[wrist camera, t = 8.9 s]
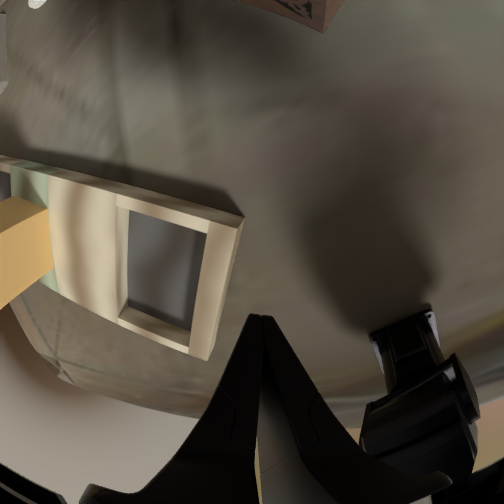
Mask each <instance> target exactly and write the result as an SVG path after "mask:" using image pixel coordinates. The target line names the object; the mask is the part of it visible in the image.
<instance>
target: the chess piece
mask: <svg viewBox="0 0 504 504" xmlns="http://www.w3.org/2000/svg"><path fill="white" fill-rule="evenodd" d="M46 1H47V0H29V2H28V4H29V7H30V8H33V9H37V8H39V7H40V6H42V5H43V4H44V3H45V2H46Z"/></svg>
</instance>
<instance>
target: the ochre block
mask: <svg viewBox="0 0 504 504" xmlns="http://www.w3.org/2000/svg"><path fill="white" fill-rule="evenodd" d="M53 268H54V266H53V258H52V251H51V242H50V231H49V218H48V208H45V207H42V206H40V205H37V204H35V203H32V202H30V201H27V200H25V199H22V198H19V197H17V196H12V197H10V198H8V199H5V200H3V201H1V202H0V309H1V308H3V307H4V306H5V305H6V304H8V303H9V302H10V301H11V300H12V299H14V298H15V297H16V296H17V295H19V294H20V293H21V292H22V291H24V290H25V289H26V288H28V287H29V286H30V285H31V284H33V283H34V282H35V281H37V280H38V279H39V278H41V277H42V276H43V275H45V274H46V273H47V272H49V271H50V270H52V269H53Z"/></svg>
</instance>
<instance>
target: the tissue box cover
mask: <svg viewBox="0 0 504 504" xmlns="http://www.w3.org/2000/svg"><path fill="white" fill-rule="evenodd" d="M236 1H239V2H243V3H246V4H249V5H253V6H256V7H259V8H262V9H265V10H268V11H270V12H273V13H276V14H279V15H281V16H284V17H287V18H289V19H292V20H294V21H296V22H299V23H301V24H304V25H306V26H308V27H310V28H313V29H315V30H317V31H319V32H321V33H324V31H325V30H326V28H327V26H328V25H329V23H330V22H331V20H332V18H333V17H334V15H335V14H336V12H337V11H338V9H339V7H340V6H341V4H342V3H343V1H344V0H236Z"/></svg>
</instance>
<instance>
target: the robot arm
mask: <svg viewBox="0 0 504 504" xmlns="http://www.w3.org/2000/svg"><path fill="white" fill-rule="evenodd" d="M428 314H430V315H428ZM427 315H428V316H427ZM369 337H370V342H371V344H372V346H373V349H374V351H375V354H376V356H377V359H378V361H379V364H380V366H381V369H382V371H383V374H384V375H385V381H386V387H387V394H388V395H386V396H384V397H382V398H380V399H378V400H376V401H374V402H370V403H368V404H367V405H366V410H365V415H364V419H363V424H362V428H361V433H360V438H359V445H358V444H357V443H356V442H355V440H354V439H353V438H352V437H351V436H350V434H349V433H348V432H347V431H346V429H345V428H344V427H343V426H342V425H341V423H340V422H339V421H338V419H337V418H336V417H335V415H334V414H333V413H332V412H331V410H330V409H329V407H328V406H327V404H326V403H325V401H324V399H323V398H322V396H321V395H320V393H319V392H318V390H317V388H316V387H315V385H314V383H313V382H312V380H311V379H310V377H309V375H308V374H307V372H306V370H305V369H304V367H303V365H302V364H301V362H300V361H299V359H298V357H297V356H296V354H295V352H294V351H293V349H292V347H291V346H290V344H289V343H288V341H287V339H286V338H285V336H284V334H283V333H282V331H281V329H280V328H279V326H278V324H277V323H276V321H275V319H274V318H273V317H272V316H268V315H261V316H260V315H259V314H252V313H250V314H249V315H248V317H247V319H246V322H245V324H244V326H243V329H242V331H241V333H240V336H239V338H238V340H237V342H236V345H235V347H234V349H233V352H232V354H231V356H230V358H229V361H228V363H227V365H226V367H225V370H224V372H223V374H222V376H221V379H220V381H219V383H218V386H217V387H216V390H215V392H214V394H213V396H212V398H211V400H210V402H209V404H208V406H207V408H206V410H205V411H204V413H203V414H202V416H201V418H200V419H199V421H198V422H197V424H196V425H195V427H194V428H193V430H192V431H191V433H190V434H189V436H188V437H187V438H186V440H185V441H184V443H183V444H182V445H181V447H180V448H179V450H178V451H177V452H176V454H175V455H174V456H173V457H172V459H171V460H170V461H169V462H168V463H167V464H166V465H165V466H164V467H163V468H162V469H161V470H160V472H158V474H157V475H156V476H155V477H154V478H153V479H152V480H151V481H150V482H149V483H148V484H147V485H146V486H145V487H144V488H143V489H141V490H140V491H138V492H135V493H129V494H128V493H122V492H118V491H115V490H111V489H108V488H105V487H102V486H98V485H95V484H89V485H88V486H87V488H86V490H85V491H84V493H83V495H82V496H81V499H80V500H79V504H259V497H258V490H257V483H256V476H255V467H254V461H255V452H254V451H255V448H256V437H257V440H258V453H259V466H260V474H261V475H260V478H261V490H262V503H263V504H504V457H502V458H501V459H499V460H497V461H495V462H494V463H492V464H490V465H488V466H486V467H484V468H482V469H480V470H478V471H476V472H474V473H472V470H473V466H474V462H475V458H476V455H477V448H478V446H477V445H478V430H477V426H476V423H475V421H476V420H478V419H479V418H480V410H479V404H478V399H477V395H476V392H475V389H474V387H473V385H472V382H471V380H470V378H469V375H468V374H467V372H466V370H465V369H464V367H463V365H462V364H461V362H460V360H459V359H458V357H457V355H456V354H455V353H453V354H452V355H451V356H449V357H450V358H448V359H447V360H444V357H443V354H442V352H441V349H440V343H439V337H438V331H437V326H436V321H435V316H434V313H433V311H432V309H427V310H425V311H423V312H421V313H418V314H416V315H414V316H412V317H409V318H407V319H405V320H402V321H400V322H398V323H395V324H393V325H391V326H388V327H386V328H383V329H381V330H378V331H376V332H373V333H371V334H370V336H369ZM374 337H376V338H374ZM0 504H67V502H66V501H65V499H64V498H63V496H62V495H60V494H58V493H56V492H54V491H51V490H49V489H47V488H45V487H43V486H41V485H39V484H37V483H35V482H33V481H31V480H29V479H28V478H26V477H24V476H22V475H20V474H19V473H16V472H15V471H13V470H12V469H10V468H8V467H7V466H5V465H3V464H2V463H0Z"/></svg>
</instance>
